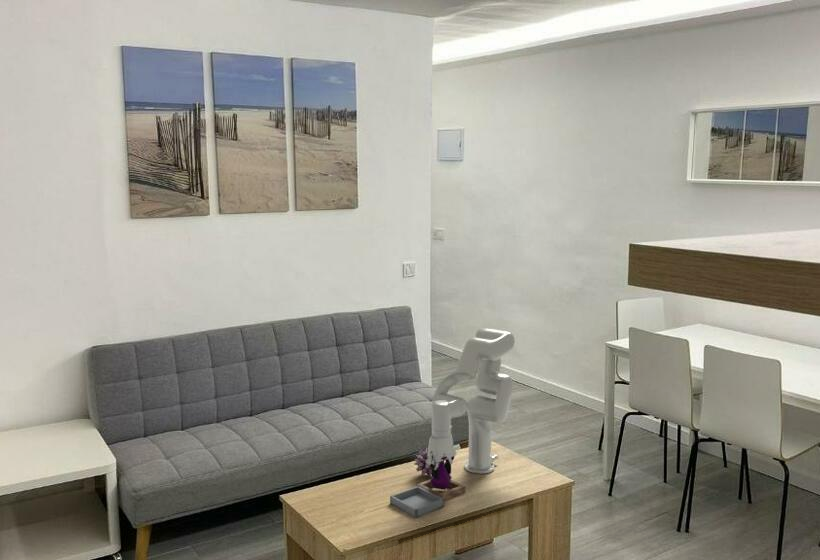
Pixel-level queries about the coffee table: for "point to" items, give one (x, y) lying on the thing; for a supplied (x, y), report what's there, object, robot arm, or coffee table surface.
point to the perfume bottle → (441, 477)
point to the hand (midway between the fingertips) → (441, 475)
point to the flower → (423, 463)
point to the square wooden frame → (445, 495)
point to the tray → (417, 501)
